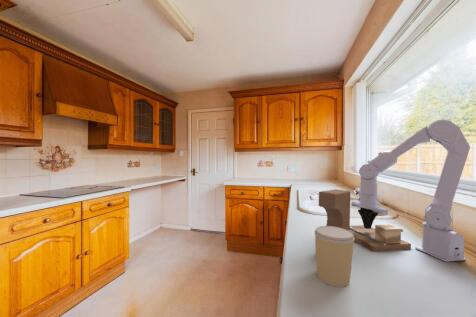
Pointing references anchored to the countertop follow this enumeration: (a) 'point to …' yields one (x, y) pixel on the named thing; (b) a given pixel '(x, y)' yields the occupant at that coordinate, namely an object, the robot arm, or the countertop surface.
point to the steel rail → (368, 236)
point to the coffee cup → (334, 255)
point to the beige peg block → (388, 233)
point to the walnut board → (373, 244)
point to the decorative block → (336, 207)
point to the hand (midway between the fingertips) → (367, 228)
